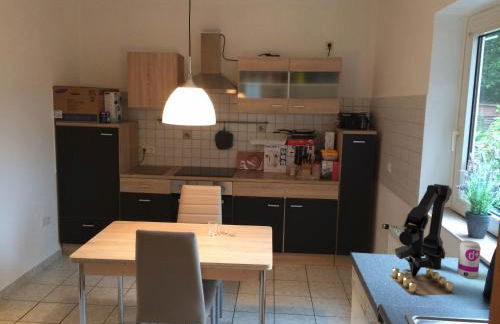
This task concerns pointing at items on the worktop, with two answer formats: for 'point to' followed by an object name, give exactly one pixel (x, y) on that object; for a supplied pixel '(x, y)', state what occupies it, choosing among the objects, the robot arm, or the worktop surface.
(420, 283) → the board
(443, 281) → the brass spacers
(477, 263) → the supplement can
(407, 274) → the steel nut
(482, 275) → the worktop surface
